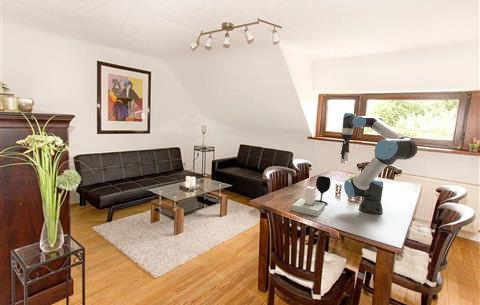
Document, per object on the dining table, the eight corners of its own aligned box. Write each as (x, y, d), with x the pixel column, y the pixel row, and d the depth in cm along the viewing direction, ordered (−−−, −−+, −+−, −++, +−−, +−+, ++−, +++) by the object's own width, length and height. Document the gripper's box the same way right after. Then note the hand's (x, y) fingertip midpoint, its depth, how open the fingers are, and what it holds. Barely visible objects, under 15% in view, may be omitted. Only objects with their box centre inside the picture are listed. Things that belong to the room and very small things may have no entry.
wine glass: (314, 204, 192) (317, 178, 188) (312, 199, 202) (315, 175, 198) (329, 206, 191) (332, 180, 187) (326, 201, 201) (329, 176, 197)
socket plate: (324, 208, 185) (325, 203, 185) (318, 216, 170) (318, 210, 169) (300, 203, 194) (300, 198, 194) (291, 210, 179) (292, 204, 178)
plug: (313, 209, 183) (315, 187, 181) (311, 211, 179) (313, 189, 176) (306, 207, 185) (308, 186, 183) (304, 209, 181) (306, 187, 179)
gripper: (344, 132, 206) (341, 159, 209) (338, 134, 185) (335, 163, 188) (354, 133, 202) (351, 160, 206) (349, 135, 181) (346, 164, 184)
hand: (344, 161), depth 197 cm, fingers open, 13 cm apart
